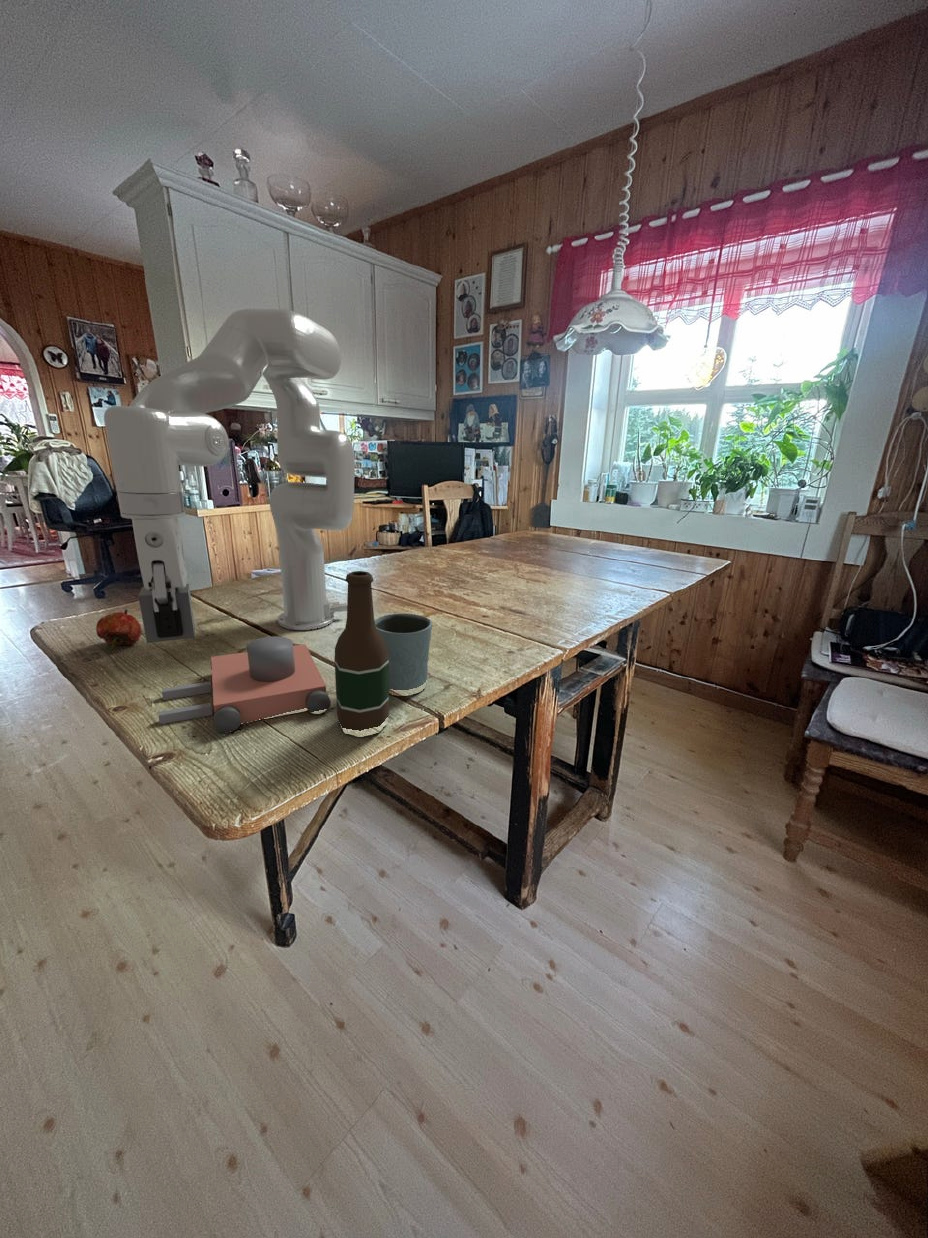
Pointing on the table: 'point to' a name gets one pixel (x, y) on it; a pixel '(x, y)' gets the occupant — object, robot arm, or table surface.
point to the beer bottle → (361, 661)
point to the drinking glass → (406, 648)
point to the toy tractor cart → (254, 685)
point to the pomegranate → (119, 629)
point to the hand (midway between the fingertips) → (171, 628)
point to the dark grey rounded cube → (182, 603)
